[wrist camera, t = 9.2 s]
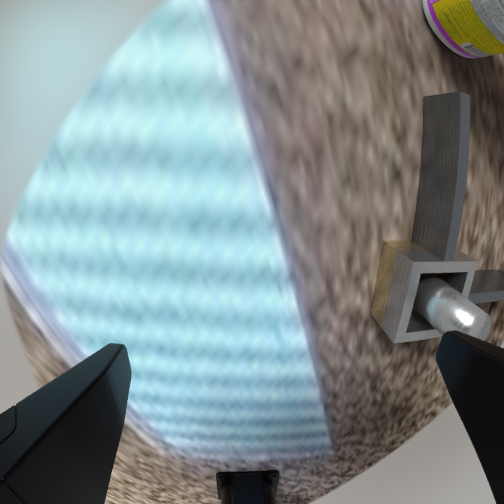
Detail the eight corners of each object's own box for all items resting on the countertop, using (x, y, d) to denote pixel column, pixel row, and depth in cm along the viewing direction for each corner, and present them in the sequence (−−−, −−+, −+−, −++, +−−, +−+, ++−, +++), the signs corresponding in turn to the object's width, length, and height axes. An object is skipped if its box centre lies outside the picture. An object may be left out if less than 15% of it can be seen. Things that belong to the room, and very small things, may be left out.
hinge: (491, 301, 23) (518, 321, 19) (370, 313, 22) (393, 343, 18) (519, 131, 18) (553, 134, 14) (394, 89, 17) (429, 81, 13)
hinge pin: (419, 293, 22) (481, 351, 14) (390, 294, 21) (450, 358, 14) (426, 260, 21) (496, 311, 13) (397, 260, 20) (466, 315, 13)
